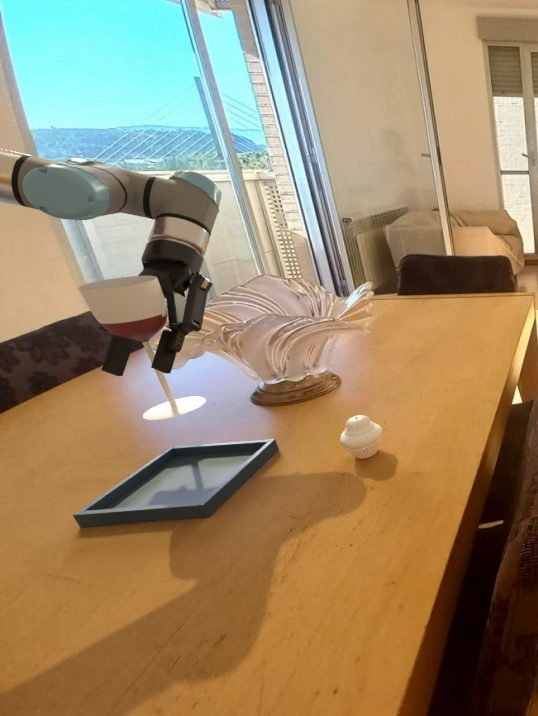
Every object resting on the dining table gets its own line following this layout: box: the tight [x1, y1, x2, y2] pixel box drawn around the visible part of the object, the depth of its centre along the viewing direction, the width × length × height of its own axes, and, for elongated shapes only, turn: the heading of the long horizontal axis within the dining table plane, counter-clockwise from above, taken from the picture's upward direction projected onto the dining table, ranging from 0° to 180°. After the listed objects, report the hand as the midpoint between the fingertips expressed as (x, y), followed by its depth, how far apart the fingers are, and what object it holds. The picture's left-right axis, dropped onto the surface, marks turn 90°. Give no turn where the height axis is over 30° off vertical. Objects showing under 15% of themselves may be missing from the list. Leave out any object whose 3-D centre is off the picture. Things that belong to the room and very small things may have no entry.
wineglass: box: [77, 275, 207, 421], centre depth 77 cm, size 9×10×22 cm
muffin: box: [339, 414, 383, 460], centre depth 77 cm, size 6×6×7 cm
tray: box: [72, 438, 280, 528], centre depth 71 cm, size 17×17×2 cm
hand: (136, 371), depth 75 cm, fingers closed on wineglass, 7 cm apart
